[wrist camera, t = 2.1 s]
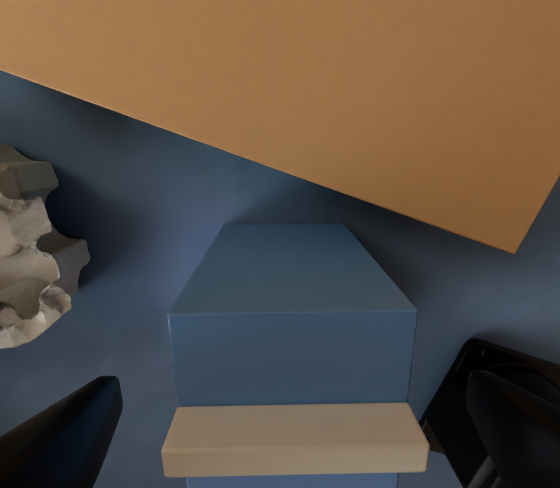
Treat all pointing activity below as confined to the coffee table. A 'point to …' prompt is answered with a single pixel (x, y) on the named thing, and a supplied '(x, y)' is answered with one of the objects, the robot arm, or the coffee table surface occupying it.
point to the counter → (330, 91)
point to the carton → (292, 365)
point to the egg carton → (32, 252)
